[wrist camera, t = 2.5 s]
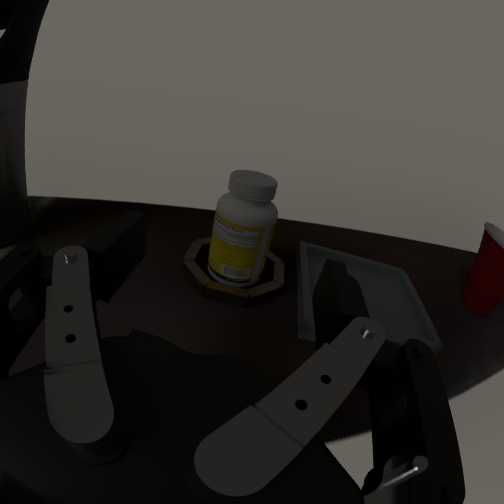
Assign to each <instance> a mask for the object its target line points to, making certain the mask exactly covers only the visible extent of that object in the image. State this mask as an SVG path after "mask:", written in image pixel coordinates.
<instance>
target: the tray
mask: <svg viewBox="0 0 504 504" xmlns="http://www.w3.org/2000/svg"><path fill="white" fill-rule="evenodd" d="M328 258H329V259H333V260H337V261H341V262H344V263H345V265H346V269H347V272H348V275H351V276H353V277H354V278H355V279H356V280H357V282H358V283H359V285H360V288H361V291H362V294H363V297H364V300H365V303H366V306H367V309H368V312H369V316H370V319H372V320H374V321H376V322H377V323H378V324H379V325H380V326H381V327H382V328H383V330H384V331H385V334H386V339H387V340H389V341H391V342H393V343H396V344H398V345H401V346H403V345H404V343H405V342H406V341H407V340H408V339H411V338H414V339H418V340H421V341H423V342H424V343H425V344H427V345H428V346H429V348H430V349H431V350H432V352H433V355H434V358H435V357H436V356H437V355H438V353H439V352H440V351H441V350H442V349H443V346H442V344H441V341H440V339H439V337H438V335H437V332H436V330H435V328H434V326H433V324H432V322H431V320H430V318H429V315H428V313H427V311H426V309H425V307H424V305H423V303H422V301H421V299H420V298H419V296H418V294H417V292H416V290H415V288H414V286H413V284H412V282H411V281H410V279H409V277H408V275H407V273H406V272H405V270H404V269H401V268H397V267H394V266H390V265H387V264H383V263H380V262H376V261H373V260H369V259H365V258H362V257H358V256H354V255H351V254H347V253H343V252H340V251H336V250H332V249H329V248H325V247H321V246H317V245H314V244H310V243H306V242H302V241H299V244H298V247H297V250H296V272H297V312H298V338H299V339H304V340H309V341H314V342H316V338H315V325H314V313H313V302H312V298H313V292H314V288H315V286H316V283H317V281H318V278H319V276H320V273H321V271H322V269H323V266H324V264H325V261H326V260H327V259H328Z"/></svg>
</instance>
